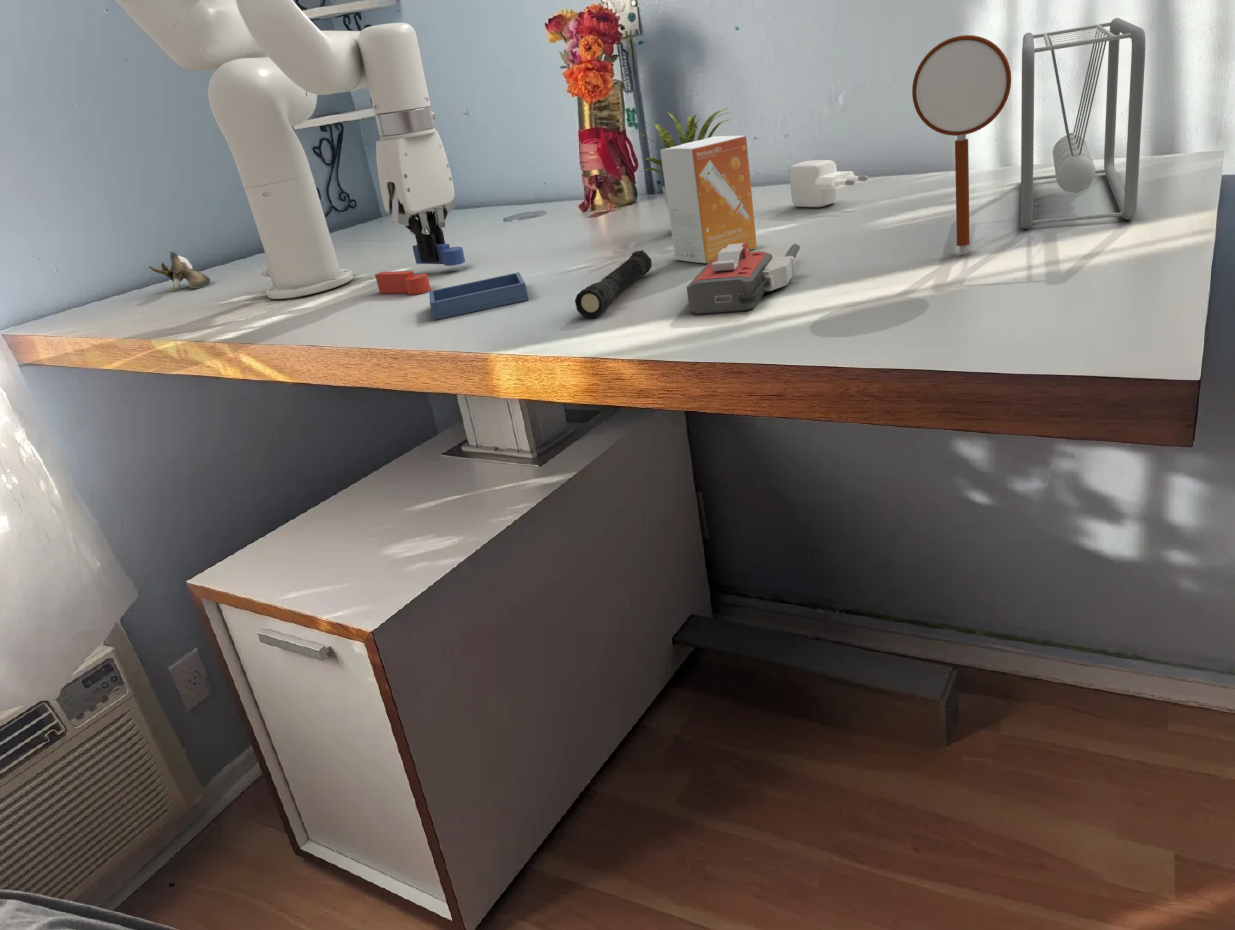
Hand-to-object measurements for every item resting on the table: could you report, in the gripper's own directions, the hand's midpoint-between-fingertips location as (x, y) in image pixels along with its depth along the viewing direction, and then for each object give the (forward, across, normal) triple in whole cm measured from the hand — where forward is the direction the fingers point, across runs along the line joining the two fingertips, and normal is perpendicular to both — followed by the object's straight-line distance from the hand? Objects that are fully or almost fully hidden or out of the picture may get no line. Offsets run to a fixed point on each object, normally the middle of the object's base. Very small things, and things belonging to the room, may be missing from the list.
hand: (434, 259), depth 132 cm
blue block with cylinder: (+1, 0, +1) cm, 1 cm away
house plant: (0, -20, +33) cm, 39 cm away
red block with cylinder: (+2, +11, +4) cm, 12 cm away
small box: (0, -4, +44) cm, 44 cm away
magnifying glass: (-1, 0, +73) cm, 73 cm away
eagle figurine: (+4, +6, -54) cm, 55 cm away
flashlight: (+1, +13, +40) cm, 43 cm away
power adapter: (0, -29, +48) cm, 56 cm away
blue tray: (+1, +16, +22) cm, 28 cm away
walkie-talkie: (0, +10, +55) cm, 56 cm away
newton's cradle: (-1, -24, +79) cm, 83 cm away
